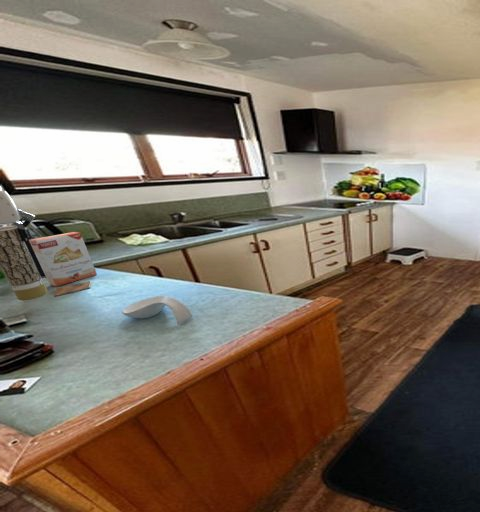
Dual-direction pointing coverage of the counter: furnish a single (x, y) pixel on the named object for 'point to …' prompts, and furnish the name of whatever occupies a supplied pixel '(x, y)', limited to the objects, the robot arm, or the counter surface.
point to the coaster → (72, 288)
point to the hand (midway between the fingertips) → (7, 242)
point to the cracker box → (63, 258)
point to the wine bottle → (32, 251)
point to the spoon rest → (157, 308)
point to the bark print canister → (19, 265)
